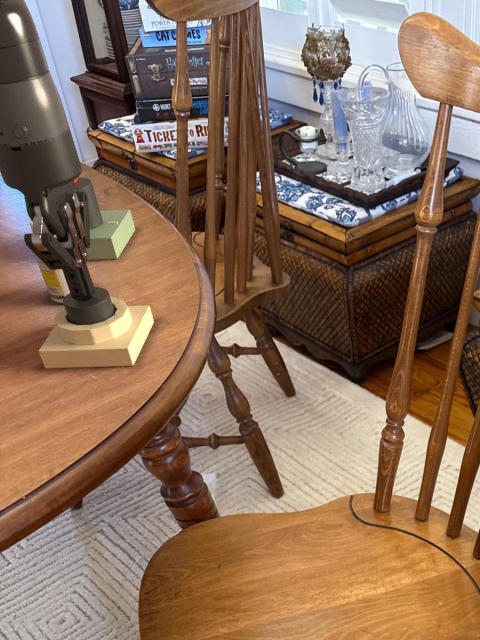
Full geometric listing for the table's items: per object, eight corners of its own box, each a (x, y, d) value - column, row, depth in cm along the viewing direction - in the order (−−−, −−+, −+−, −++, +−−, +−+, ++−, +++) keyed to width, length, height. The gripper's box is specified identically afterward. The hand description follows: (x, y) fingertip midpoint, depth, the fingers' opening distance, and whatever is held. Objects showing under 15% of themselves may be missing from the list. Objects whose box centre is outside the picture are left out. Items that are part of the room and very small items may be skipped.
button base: (45, 368, 87) (32, 336, 85) (72, 324, 95) (61, 293, 92) (133, 365, 87) (123, 333, 84) (154, 322, 94) (145, 291, 92)
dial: (99, 229, 108) (86, 186, 104) (64, 232, 108) (50, 188, 104) (105, 216, 112) (93, 173, 108) (72, 218, 111) (58, 176, 107)
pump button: (63, 327, 87) (56, 308, 85) (77, 306, 90) (70, 287, 89) (108, 326, 87) (101, 306, 85) (119, 305, 90) (114, 285, 89)
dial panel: (46, 261, 108) (38, 239, 106) (68, 232, 116) (61, 210, 114) (117, 258, 108) (110, 236, 106) (135, 229, 115) (129, 208, 113)
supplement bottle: (96, 283, 103) (72, 208, 96) (91, 302, 99) (66, 225, 92) (54, 287, 102) (27, 212, 96) (47, 306, 98) (18, 229, 92)
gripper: (14, 109, 80) (70, 272, 92) (-40, 152, 70) (30, 327, 82) (87, 106, 79) (133, 270, 91) (42, 148, 70) (100, 325, 82)
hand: (84, 296), depth 87 cm, fingers closed
